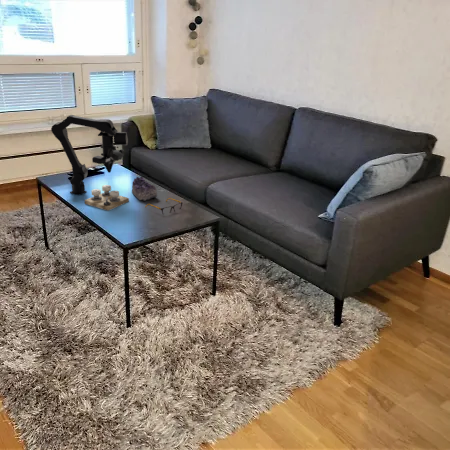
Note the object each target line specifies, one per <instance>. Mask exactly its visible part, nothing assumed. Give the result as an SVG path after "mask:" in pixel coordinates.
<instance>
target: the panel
mask: <svg viewBox="0 0 450 450" xmlns="http://www.w3.org/2000/svg"><path fill="white" fill-rule="evenodd" d="M110 192H111V191H109V194H104V192H101V195H99V198H98V199H95V198H94V196H92V197H89V198H87V199H84V204H85V205H89V206H91V207H94V208H98V209H101V210H105V211H111V210H113V209H116V208H117V207H120V206H122V205H125V204H127V203H129V202H130V198H129V197H128V196H127V197H126V196H122V195H119V196H118V197H117V200H112V197H111V196H110ZM106 197H108V202H110V203H111V205H108V206H106V205H104V202H106Z"/></svg>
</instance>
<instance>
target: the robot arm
mask: <svg viewBox="0 0 450 450" xmlns="http://www.w3.org/2000/svg"><path fill="white" fill-rule="evenodd" d="M70 125H76V126H82V127H89V128H92V129H93V128H94V129H96V130H97V131H99V133H98V134H97V136H98V137H101V141H102V142H101V146H100V148H101V149H102V153H101V154H100V155H96V156H93V157H92V163H94V164H97V165H98V164H99V165H102V164H103V166H104V169H106V171H107V173H109V174H110V173H111V172H112V168H113V166H114V163H115V162H116V161H121V160H122V159H123V158H125V150H124V149H116V147H117V146H128V144H129V138H128V134H127V133H128V132H127V131H118V129H117V128H116V127H115V126H114V122H113V121H112V120H110V119H109V118H108V119H106V118H105V119H103V118H102V119H93V118H89V117H83V116H82V117H81V116H78V115H73V114H70V115H68V116H66V118H65V119H62V121H57V122H56V123H55V124H53V125H52V126H51V129H50V130H51V134H53V136H54V137H55V138H56V140H58V141H59V142H60V144H61V146H62V148H63V150H64V153H65V155H66V157H67V159H68V161H69V163H70V166H71V170H72V175H73V176H72V178H70V180H69V182H70V184H71V191H69V193H70V194H72V195H77V196H80V195H83V194H86V193H87V190H86V188H85V187H86V186H85V182H84V180H85V179H86V178H87V176H88V170H89V169H88V168H87V167H86V164H85V163H81V162H80V160H79V159H78V158H79V157H78V156H77V153H76V152H75V150H74V148H73V145H72V144H71V141H70V139H69V133H68V130H67V129H68V127H69V126H70ZM114 144H115V145H117V146H115V145H114Z"/></svg>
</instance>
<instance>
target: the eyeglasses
mask: <svg viewBox="0 0 450 450" xmlns="http://www.w3.org/2000/svg"><path fill="white" fill-rule="evenodd" d="M168 200H173V201H175V202H178V203H177V204H175V205H173V206H166V207H158V206H156V205H154V204H151V203H147V204H146V205H145V206H144V208H147V207H148V206H152V207H154V208H156V209H158V210H160V211H161V213H162V215H164V209H168V208H170V209H169V210H170V211H169V213H171V212H172V211H176V210H175V207H176V206H177V205H180V208H179V210H181V208H182V206H183V203H184V202H182V201H180V200H177V199H174V198H171V197H169V198H167V199H166V200H165V202H167V201H168Z"/></svg>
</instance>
